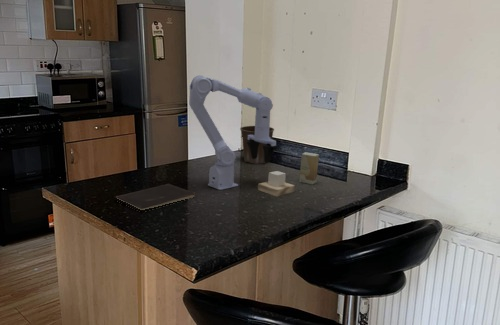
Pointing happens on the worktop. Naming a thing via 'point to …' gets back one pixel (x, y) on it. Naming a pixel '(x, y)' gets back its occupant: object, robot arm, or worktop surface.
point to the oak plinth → (276, 189)
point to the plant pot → (247, 154)
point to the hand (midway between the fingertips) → (260, 160)
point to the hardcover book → (156, 196)
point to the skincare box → (309, 168)
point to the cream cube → (276, 178)
